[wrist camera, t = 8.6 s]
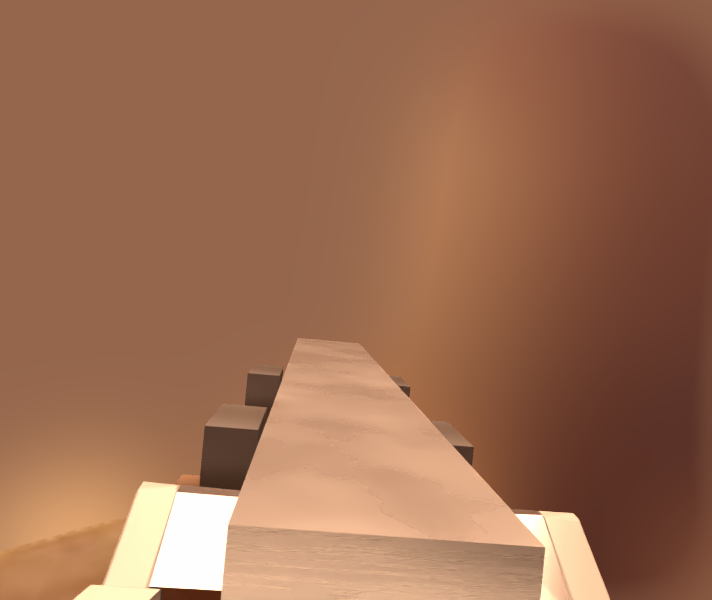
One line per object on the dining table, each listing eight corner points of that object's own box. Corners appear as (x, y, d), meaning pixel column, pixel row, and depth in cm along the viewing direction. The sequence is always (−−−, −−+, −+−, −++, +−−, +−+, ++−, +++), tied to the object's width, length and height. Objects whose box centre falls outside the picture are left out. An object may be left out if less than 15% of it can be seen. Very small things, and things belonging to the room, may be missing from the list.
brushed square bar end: (515, 860, 6) (545, 547, 6) (197, 848, 6) (227, 524, 6) (353, 404, 32) (359, 343, 32) (292, 399, 32) (298, 338, 32)
